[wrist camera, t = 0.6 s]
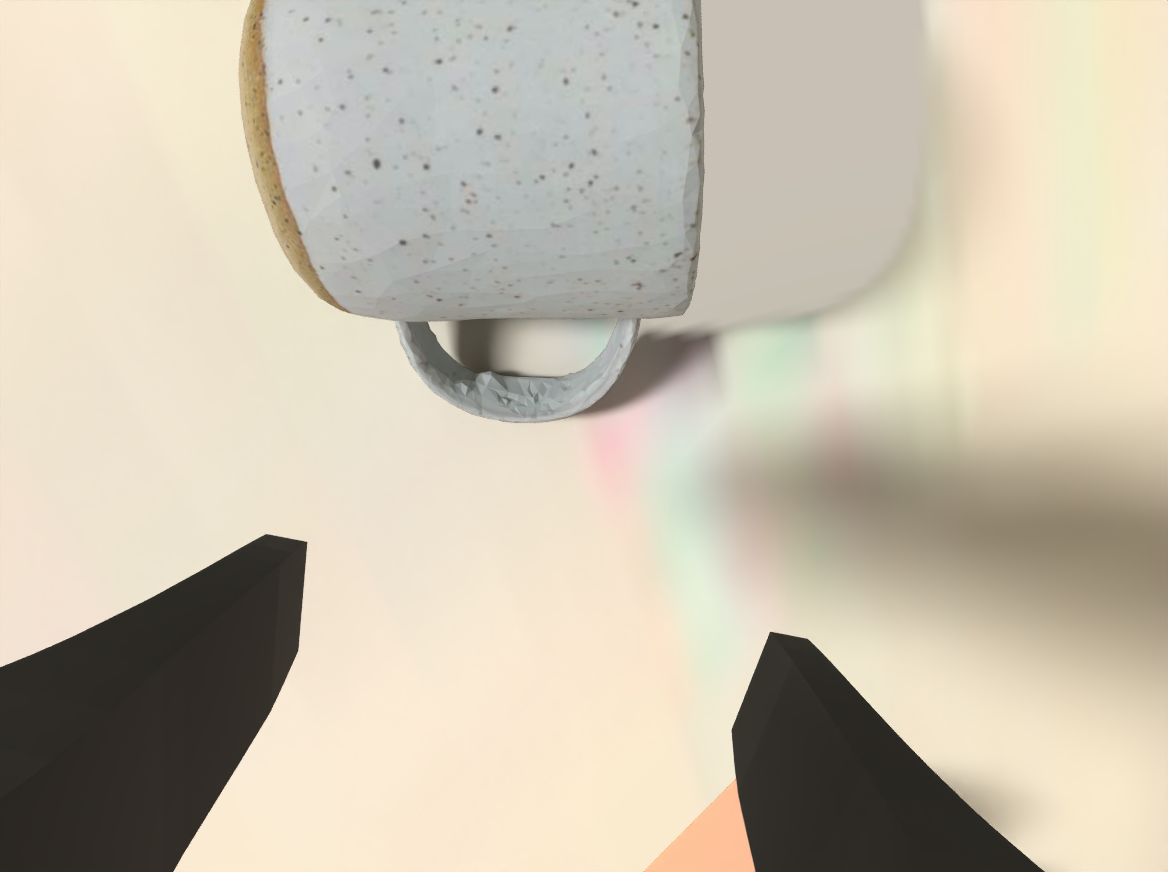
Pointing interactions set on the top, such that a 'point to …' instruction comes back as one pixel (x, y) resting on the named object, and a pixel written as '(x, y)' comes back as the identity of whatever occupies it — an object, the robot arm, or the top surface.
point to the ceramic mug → (483, 169)
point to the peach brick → (711, 841)
